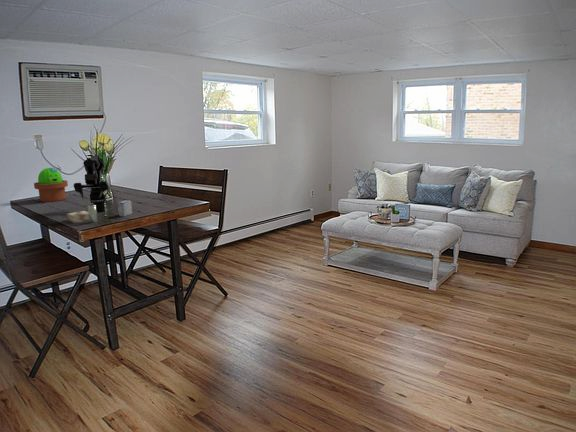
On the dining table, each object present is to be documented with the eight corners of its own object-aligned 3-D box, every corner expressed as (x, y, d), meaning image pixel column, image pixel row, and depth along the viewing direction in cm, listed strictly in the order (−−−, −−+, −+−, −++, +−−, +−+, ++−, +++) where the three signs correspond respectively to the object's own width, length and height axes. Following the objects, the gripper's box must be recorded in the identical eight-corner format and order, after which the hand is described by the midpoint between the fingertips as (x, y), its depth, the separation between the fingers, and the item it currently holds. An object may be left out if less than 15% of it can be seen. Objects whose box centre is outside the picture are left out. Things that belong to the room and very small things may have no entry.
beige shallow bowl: (85, 216, 272) (84, 210, 271) (93, 219, 265) (92, 213, 264) (67, 220, 264) (66, 213, 263) (74, 222, 257) (73, 216, 256)
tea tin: (90, 221, 260) (87, 204, 258) (98, 220, 261) (96, 204, 259) (88, 223, 256) (86, 206, 253) (97, 222, 257) (95, 205, 255)
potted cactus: (32, 200, 330) (26, 167, 325) (62, 196, 347) (57, 164, 341) (43, 203, 317) (38, 169, 311) (74, 199, 333) (70, 166, 327)
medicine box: (126, 213, 280) (125, 200, 278) (132, 213, 278) (131, 200, 276) (118, 216, 272) (117, 202, 270) (124, 216, 271) (123, 202, 269)
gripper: (72, 169, 259) (70, 191, 251) (105, 167, 264) (105, 188, 256) (76, 180, 268) (75, 201, 260) (108, 179, 273) (108, 199, 265)
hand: (91, 197), depth 260 cm, fingers open, 9 cm apart
